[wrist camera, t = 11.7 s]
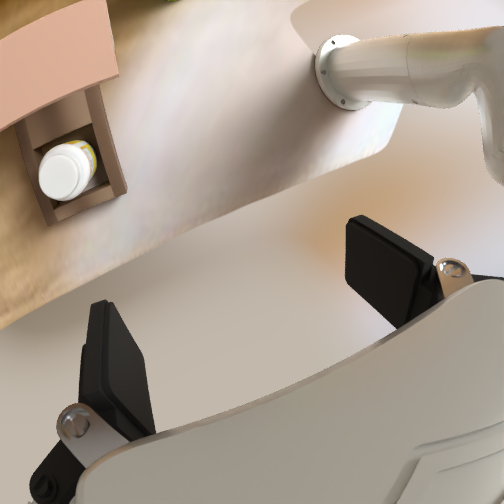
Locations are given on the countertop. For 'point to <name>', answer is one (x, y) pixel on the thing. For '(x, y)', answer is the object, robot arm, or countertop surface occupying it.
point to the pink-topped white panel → (55, 59)
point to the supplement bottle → (67, 169)
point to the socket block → (60, 124)
